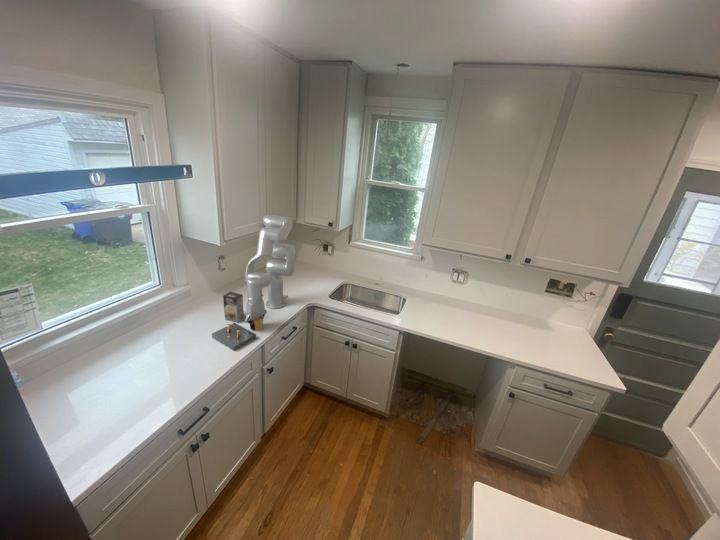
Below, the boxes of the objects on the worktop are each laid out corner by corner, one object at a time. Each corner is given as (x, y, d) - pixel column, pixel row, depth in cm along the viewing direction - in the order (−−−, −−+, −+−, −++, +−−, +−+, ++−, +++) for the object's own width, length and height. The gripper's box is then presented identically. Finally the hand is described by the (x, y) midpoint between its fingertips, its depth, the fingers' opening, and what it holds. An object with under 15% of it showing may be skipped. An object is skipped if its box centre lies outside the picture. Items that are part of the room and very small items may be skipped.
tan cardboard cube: (257, 324, 171) (256, 316, 169) (263, 327, 169) (262, 319, 167) (250, 327, 167) (249, 319, 165) (256, 330, 165) (255, 322, 163)
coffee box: (224, 319, 172) (222, 295, 167) (231, 314, 178) (229, 291, 172) (237, 323, 170) (235, 298, 164) (244, 317, 176) (243, 294, 170)
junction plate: (234, 326, 167) (234, 316, 165) (256, 338, 159) (255, 328, 156) (212, 337, 156) (210, 327, 153) (233, 350, 147) (232, 340, 145)
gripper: (262, 292, 170) (263, 318, 177) (237, 302, 156) (239, 331, 163) (271, 296, 166) (272, 323, 173) (247, 307, 153) (248, 336, 159)
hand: (256, 326), depth 168 cm, fingers closed on tan cardboard cube, 4 cm apart
